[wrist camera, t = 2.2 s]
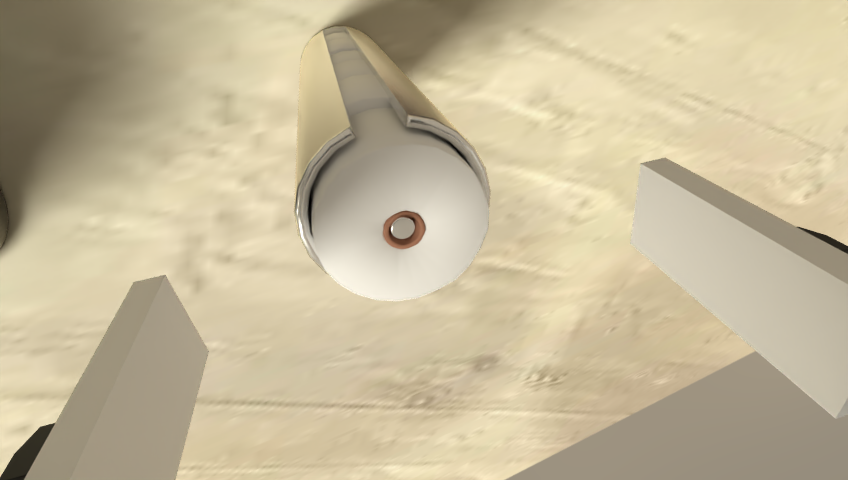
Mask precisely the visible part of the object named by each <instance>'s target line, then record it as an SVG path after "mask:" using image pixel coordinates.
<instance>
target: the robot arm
mask: <svg viewBox="0 0 848 480" xmlns="http://www.w3.org/2000/svg"><path fill="white" fill-rule="evenodd" d="M7 230H8V211H7V206H6V203H5V199H4V197H3V194H2V192H1V189H0V248H1V247H2V245H3V243H4V240H5V238H6V234H7ZM630 244H631V245H632V246H634V247H635V248H636V249H637V250H638V251H639V252H641V253H642V254H643V255H644V256H645V257H646V258H648V259H649V260H650V261H651V262H652V263H653V264H655V265H656V266H657V267H658V268H659V269H661V270H662V271H663V272H664V273H665V274H666V275H668V276H669V277H670V278H671V279H672V280H673V281H675V282H676V283H677V284H678V285H679V286H681V287H682V288H683V289H684V290H685V291H686V292H688V293H689V294H690V295H691V296H692V297H693V298H695V299H696V300H697V301H698V302H699V303H700V304H702V305H703V306H704V307H705V308H706V309H708V310H709V311H710V312H711V313H712V314H713V315H715V316H716V317H717V318H718V319H719V320H720V321H722V322H723V323H724V324H725V325H726V326H727V327H729V328H730V329H731V330H732V331H733V332H735V333H736V334H737V335H738V336H739V337H740V338H742V339H743V340H744V341H745V342H746V343H747V344H749V345H750V346H751V347H752V348H753V349H754V350H756V351H757V352H758V353H759V354H760V355H762V356H763V357H764V358H765V359H766V360H767V361H769V362H770V363H771V364H772V365H773V366H774V367H776V368H777V369H778V370H779V371H780V372H781V373H783V374H784V375H785V376H786V377H787V378H789V379H790V380H791V381H792V382H793V383H795V384H796V385H797V386H798V387H799V388H800V389H802V390H803V391H804V392H805V393H806V394H807V395H808V396H810V397H811V398H812V399H813V400H814V401H816V402H817V403H818V404H819V405H820V406H821V407H823V408H824V409H825V410H826V411H827V412H828V413H830V414H831V415H832V416H833V417H834V418H836V419H837V418H840V417H843V416H846V415H848V246H846V245H844V244H842V243H840V242H839V241H837V240H835V239H833V238H831V237H829V236H827V235H824V234H820V233H817V232H814V231H811V230H807V229H804V228H801V227H795V226H794V225H792V224H790V223H788V222H786V221H784V220H782V219H780V218H778V217H776V216H775V215H773V214H771V213H769V212H767V211H765V210H763V209H761V208H759V207H758V206H756V205H754V204H752V203H750V202H748V201H746V200H744V199H742V198H740V197H739V196H737V195H735V194H733V193H731V192H729V191H727V190H725V189H723V188H722V187H720V186H718V185H716V184H714V183H712V182H710V181H708V180H706V179H704V178H703V177H701V176H699V175H697V174H695V173H693V172H691V171H689V170H687V169H686V168H684V167H682V166H680V165H678V164H676V163H674V162H672V161H670V160H668V159H667V158H662V159H658V160H653V161H649V162H645V163H641V165H640V172H639V180H638V188H637V196H636V203H635V211H634V219H633V227H632V234H631V242H630ZM208 352H209V351H208V349H207V347H206V346H205V344H204V342H203V340H202V339H201V337H200V335H199V333H198V332H197V330H196V328H195V326H194V325H193V323H192V321H191V319H190V318H189V316H188V314H187V312H186V310H185V309H184V307H183V305H182V303H181V302H180V300H179V298H178V296H177V295H176V293H175V291H174V289H173V288H172V286H171V284H170V282H169V281H168V279H167V277H166V275H163V276H159V277H154V278H150V279H146V280H141V281H137V282H134V283H133V285H132V286H131V288H130V290H129V292H128V294H127V295H126V297H125V299H124V301H123V303H122V304H121V306H120V308H119V310H118V312H117V313H116V315H115V317H114V319H113V321H112V322H111V324H110V326H109V328H108V330H107V331H106V333H105V335H104V337H103V339H102V340H101V342H100V344H99V346H98V348H97V349H96V351H95V353H94V355H93V357H92V358H91V360H90V362H89V364H88V366H87V367H86V369H85V371H84V373H83V375H82V376H81V378H80V380H79V382H78V384H77V385H76V387H75V389H74V391H73V393H72V394H71V396H70V398H69V400H68V402H67V403H66V405H65V407H64V409H63V410H62V412H61V414H60V416H59V418H58V419H57V421H56V423H53V424H49V425H46V426H42V427H40V428H39V429H38V430H37V431H36V432H35V433H34V434H33V435H32V436H31V437H30V438H29V439H28V440H27V441H26V442H25V443H24V444H23V446H22V447H21V448H20V449H19V450H18V451H17V452H16V453H15V454H14V456H13V457H12V459H11V460H10V462H9V464H8V465H7V467H6V469H5V470H4V472H3V474H2V475H1V477H0V480H175V479H176V475H177V471H178V467H179V464H180V460H181V456H182V452H183V448H184V444H185V440H186V437H187V433H188V429H189V425H190V421H191V417H192V414H193V410H194V406H195V402H196V398H197V394H198V390H199V387H200V383H201V379H202V375H203V371H204V367H205V364H206V360H207V356H208Z"/></svg>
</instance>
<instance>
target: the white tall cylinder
mask: <svg viewBox="0 0 848 480" xmlns="http://www.w3.org/2000/svg"><path fill="white" fill-rule="evenodd" d="M489 205H490V186H489V181H488V177H487V172H486V168H485V166H484V164H483V162H482V160H481V158H480V157H479V155H478V153H477V151H476V149H475V148H474V146H473V145H472V144H471V143H470V142H469V141H468V140H467V139H466V138H465V137H464V136H463V135H462V134H461V133H460V132H459V131H458V130H457V129H456V127H455V126H454V125H453V124H452V123H451V122H450V121H449V120H448V119H447V118H446V117H445V116H444V115H443V114H442V113H441V112H440V111H439V110H438V109H437V107H436V106H435V105H434V104H433V103H432V102H431V101H430V100H429V99H428V98H427V97H426V96H425V95H424V94H423V93H422V92H421V91H420V90H419V89H418V88H417V86H416V85H415V84H414V83H413V82H412V81H411V80H410V79H409V78H408V77H407V76H406V75H405V74H404V73H403V72H402V71H401V70H400V69H399V68H398V67H397V65H396V64H395V63H394V62H393V61H392V60H391V59H390V58H389V57H388V56H387V55H386V54H385V53H384V52H383V51H382V50H381V49H380V48H379V47H378V45H377V44H376V43H375V42H374V41H373V40H372V39H371V38H370V37H368V36H367V35H366V34H364V33H363V32H361V31H359V30H357V29H355V28H351V27H347V26H333V27H330V28H327V29H324V30H322V31H320V32H319V33H318V34H316V35H315V36H313V37H312V39H311V40H310V41H309V42H308V44H307V45H306V46H305V49H304V51H303V54H302V56H301V63H300V76H299V100H298V124H297V148H296V172H295V196H294V215H295V220H296V226H297V231H298V236H299V238H300V239H301V241H302V243H303V245H304V247H305V249H306V251H307V253H308V255H309V257H310V258H311V259H312V260H313V261H314V262H315V263H316V264H317V265H318V266H319V267H320V268H321V269H322V270H323V271H324V272H325V273H326V274H328V275H330V276H331V277H332V278H333V279H334V280H335V281H336V282H337V283H338V284H339V285H341V286H343V287H344V288H346V289H348V290H350V291H351V292H353V293H355V294H357V295H360V296H364V297H367V298H371V299H374V300H384V301H402V300H408V299H415V298H419V297H422V296H424V295H427V294H429V293H432V292H434V291H436V290H439V289H440V288H442V287H444V286H446V285H447V284H449V283H451V282H453V281H455V280H456V279H457V278H458V277H459V276H460V275H461V274H462V273H463V272H464V271H465V270H466V269H467V268H468V267H469V266H470V264H471V263H472V261H473V260H474V258H475V256H476V255H477V253H478V251H479V250H480V248H481V246H482V243H483V241H484V238H485V236H486V233H487V230H488V221H489Z"/></svg>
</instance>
